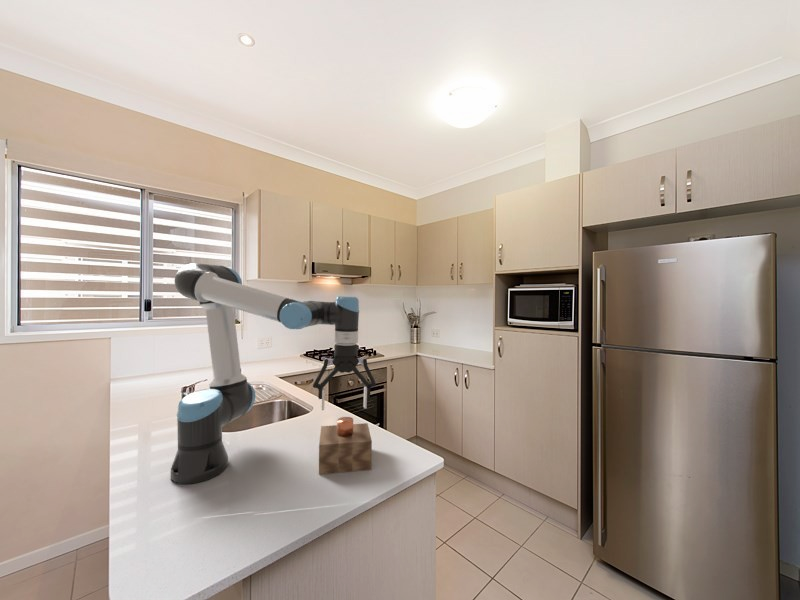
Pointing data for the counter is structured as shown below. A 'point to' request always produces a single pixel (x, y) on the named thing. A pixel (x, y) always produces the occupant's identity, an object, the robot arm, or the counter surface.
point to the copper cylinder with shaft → (345, 426)
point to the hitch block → (345, 450)
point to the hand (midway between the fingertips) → (344, 408)
